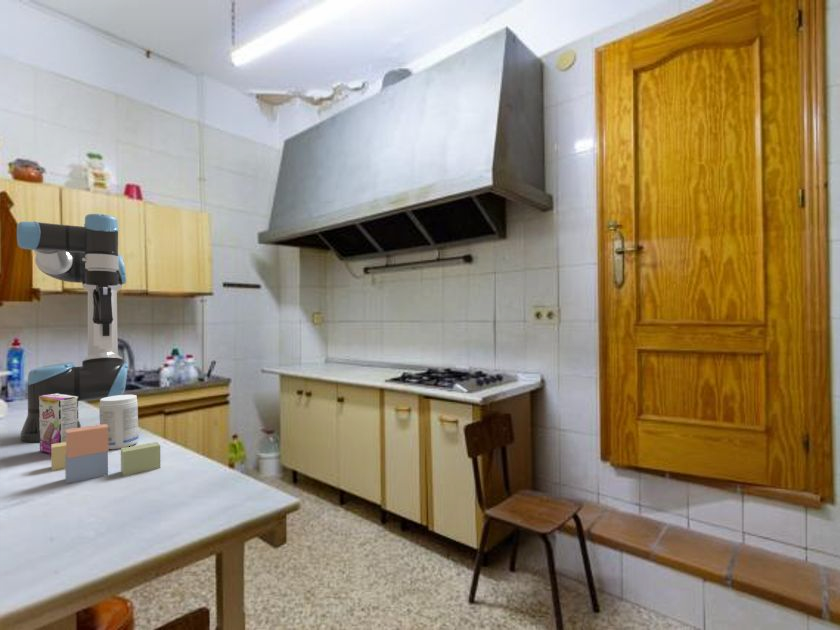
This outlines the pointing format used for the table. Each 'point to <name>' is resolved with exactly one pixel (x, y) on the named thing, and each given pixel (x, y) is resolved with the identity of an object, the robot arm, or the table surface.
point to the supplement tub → (120, 420)
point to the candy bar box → (56, 418)
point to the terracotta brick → (86, 440)
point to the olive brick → (140, 458)
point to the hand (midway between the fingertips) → (102, 347)
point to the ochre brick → (58, 455)
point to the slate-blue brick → (86, 467)
